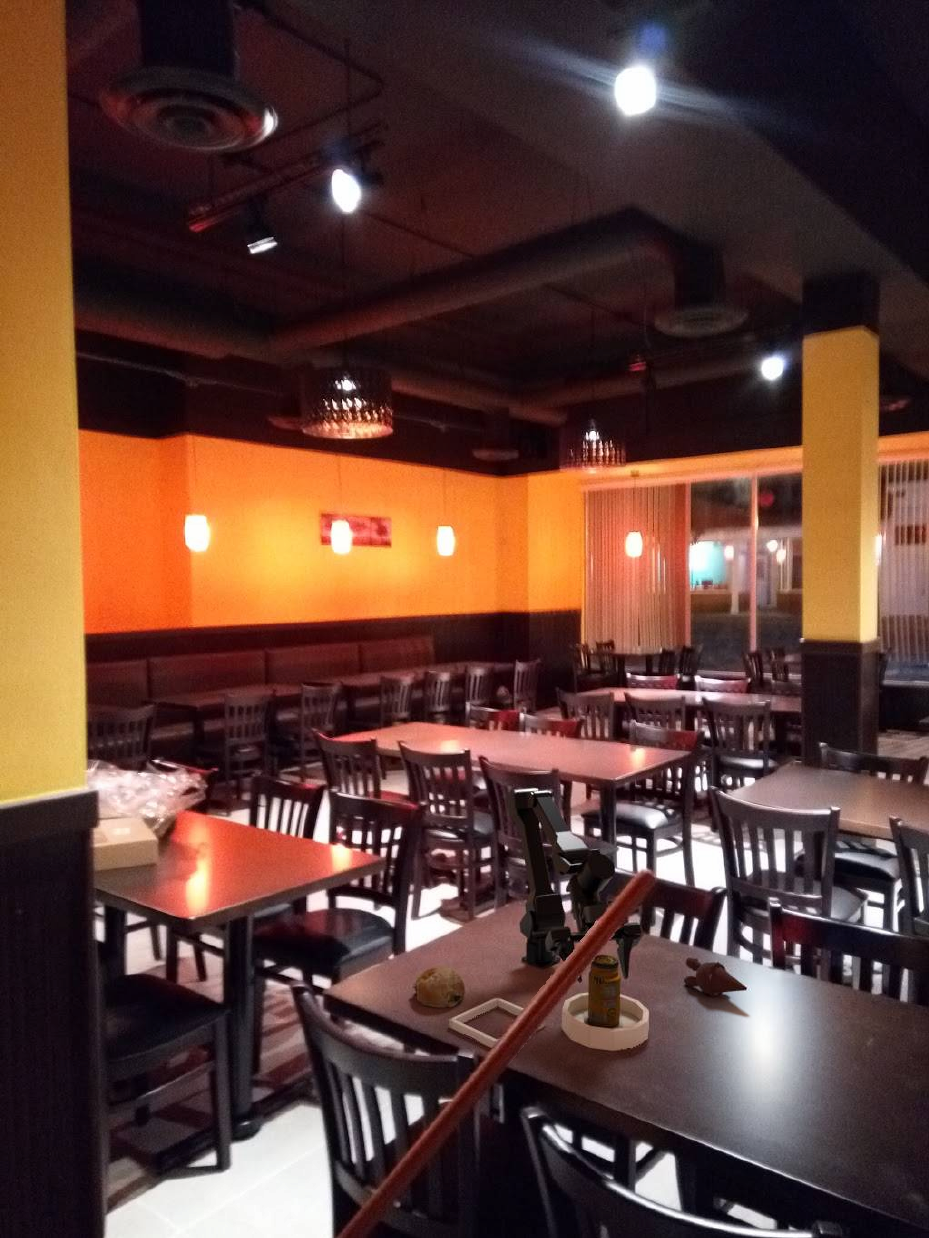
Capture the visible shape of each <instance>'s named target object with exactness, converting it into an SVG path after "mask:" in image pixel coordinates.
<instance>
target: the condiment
mask: <svg viewBox="0 0 929 1238" xmlns="http://www.w3.org/2000/svg"><path fill="white" fill-rule="evenodd" d="M595 956H596V955H595ZM619 965H620V962H619V959H618V958H616V957H614V956H613V955H608V954H597V956H596V957H595V959H594V961H593V962H592V963H591V962H590V971H589V972H588V989H587V990H588V992H587V993H588V1011H584V1023H585V1024H587V1025H590V1026H593V1027H601V1028H609V1029H615V1028H623V1023H622V1016H621V1013H620V994H621V974H620V972H619V971H620V968H619Z"/></svg>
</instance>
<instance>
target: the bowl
mask: <svg viewBox="0 0 929 1238" xmlns="http://www.w3.org/2000/svg"><path fill="white" fill-rule="evenodd" d="M584 1011H588V992H582V993H577V994H575V995H574V996H573V995H572V996H571V997H569V998H568V999H565V1000H564V1003H563V1007H562V1008H561V1030H563V1032H564V1033H565V1035H566V1036H567V1037H568V1038H569V1039H570V1041H571V1040H572V1041H573V1042H575V1043H578V1044H580V1045H582V1046H585V1047H587V1048H590V1049H597V1050H604V1051H605V1050H606V1051H611V1052H612V1051H613V1052H614V1051H621V1049H622V1050H628V1049H627V1048H630V1049H634V1048H633V1047H635V1046H637V1045H638V1046H640V1045H641V1044H643V1043H644V1041H645V1040H646V1041H648V1040H647V1039H649V1030H650V1029H649V1028H650V1027H649V1026H650V1024H649V1023H650V1011H649V1009H648V1008H647V1007H646V1006H645V1005H643V1003H642V1002H641V1001H640V1000H638V999H635V998H632V997H630V996H627V995H624V994H621V993H620V1013H621V1016H622V1023H623V1028H615V1029H609V1028H601V1027H593V1026H590V1025H587V1024H585V1023H584ZM646 1041H645V1042H646ZM639 1044H640V1045H639ZM638 1046H637V1047H638ZM635 1048H636V1047H635Z"/></svg>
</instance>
